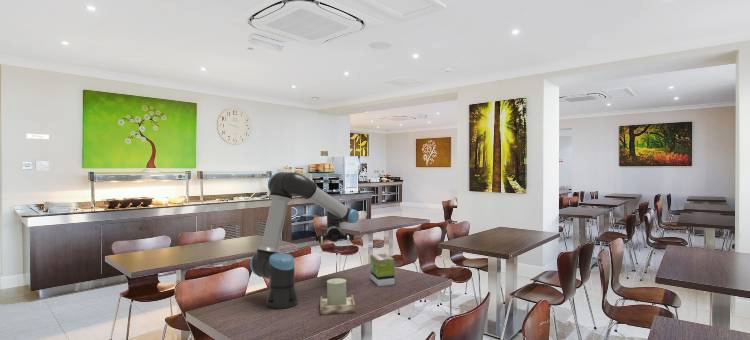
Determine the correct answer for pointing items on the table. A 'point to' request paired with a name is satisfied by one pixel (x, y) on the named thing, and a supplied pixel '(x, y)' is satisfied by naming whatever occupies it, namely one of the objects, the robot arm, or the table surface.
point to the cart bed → (337, 307)
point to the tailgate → (346, 299)
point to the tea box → (382, 269)
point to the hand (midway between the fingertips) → (335, 240)
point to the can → (336, 292)
